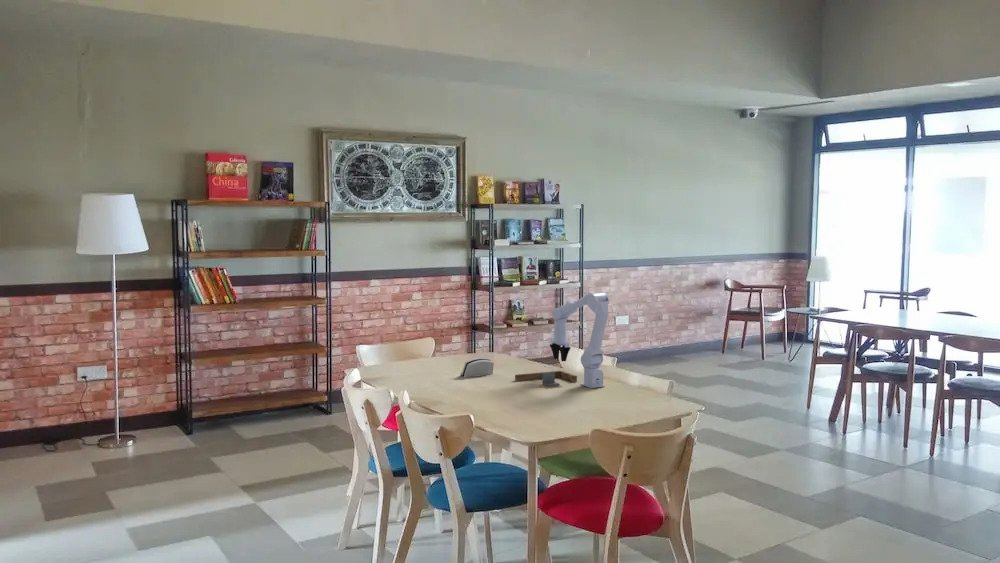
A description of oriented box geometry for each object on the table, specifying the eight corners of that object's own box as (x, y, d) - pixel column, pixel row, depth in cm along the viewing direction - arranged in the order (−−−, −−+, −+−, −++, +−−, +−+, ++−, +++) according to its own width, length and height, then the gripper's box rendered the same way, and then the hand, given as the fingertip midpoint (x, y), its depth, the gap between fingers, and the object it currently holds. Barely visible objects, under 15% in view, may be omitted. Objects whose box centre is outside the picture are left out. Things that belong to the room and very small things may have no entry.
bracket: (553, 383, 389) (553, 371, 389) (559, 386, 384) (559, 373, 383) (542, 384, 387) (542, 372, 386) (548, 387, 381) (548, 374, 381)
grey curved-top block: (487, 372, 419) (491, 355, 416) (492, 376, 416) (496, 359, 412) (459, 375, 410) (462, 358, 406) (464, 380, 406) (467, 362, 403)
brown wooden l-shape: (576, 382, 395) (576, 375, 395) (528, 386, 384) (528, 380, 384) (561, 376, 408) (561, 370, 408) (515, 380, 398) (515, 374, 397)
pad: (562, 386, 384) (562, 386, 384) (547, 388, 380) (547, 387, 380) (554, 383, 391) (554, 383, 391) (539, 385, 388) (539, 384, 388)
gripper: (545, 330, 405) (545, 358, 407) (560, 334, 392) (559, 362, 393) (558, 330, 408) (558, 357, 410) (573, 333, 395) (572, 361, 396)
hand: (559, 359), depth 402 cm, fingers open, 7 cm apart
